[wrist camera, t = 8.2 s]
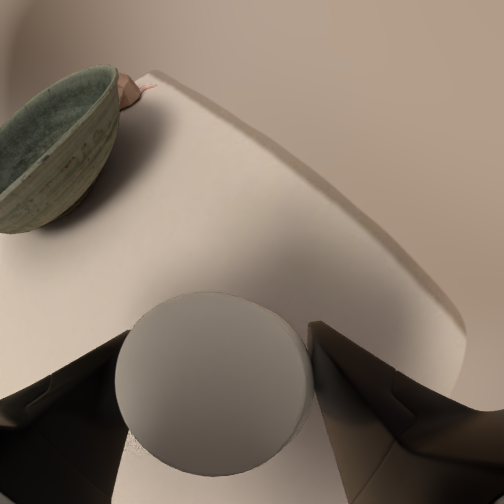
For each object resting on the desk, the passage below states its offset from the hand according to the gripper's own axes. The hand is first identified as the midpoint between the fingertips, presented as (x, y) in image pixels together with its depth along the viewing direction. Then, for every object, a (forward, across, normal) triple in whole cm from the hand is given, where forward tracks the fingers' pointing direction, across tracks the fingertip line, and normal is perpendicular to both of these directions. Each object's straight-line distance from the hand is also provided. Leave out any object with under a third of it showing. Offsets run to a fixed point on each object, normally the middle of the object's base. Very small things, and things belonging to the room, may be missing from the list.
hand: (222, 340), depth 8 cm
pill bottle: (+4, 0, +6) cm, 7 cm away
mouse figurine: (+30, +15, -17) cm, 38 cm away
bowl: (+19, +19, -6) cm, 28 cm away
